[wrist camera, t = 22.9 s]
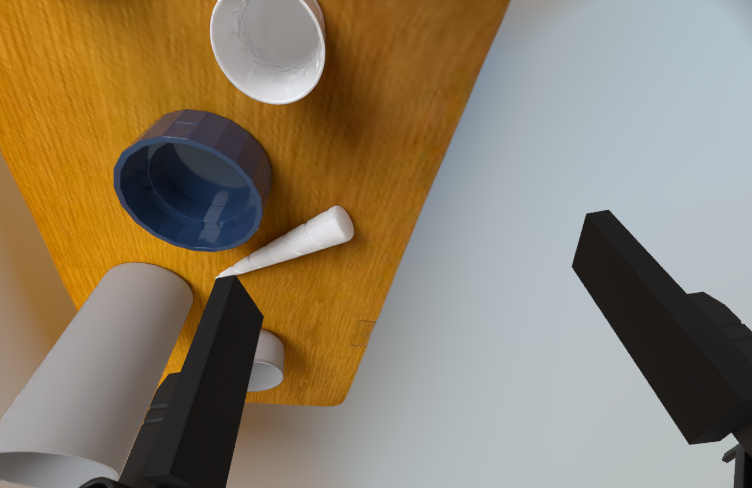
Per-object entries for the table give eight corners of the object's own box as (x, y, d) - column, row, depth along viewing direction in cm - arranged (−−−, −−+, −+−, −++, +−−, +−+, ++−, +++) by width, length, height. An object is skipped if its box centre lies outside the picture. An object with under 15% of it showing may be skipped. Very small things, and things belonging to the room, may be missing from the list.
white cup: (339, -14, 31) (336, 4, 23) (321, 78, 36) (313, 116, 28) (245, -49, 29) (210, -42, 21) (240, 53, 34) (209, 87, 26)
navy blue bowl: (242, 95, 36) (224, 123, 31) (289, 204, 46) (281, 240, 41) (116, 122, 38) (78, 153, 32) (187, 224, 47) (167, 260, 42)
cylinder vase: (103, 250, 49) (-47, 445, 31) (198, 272, 53) (116, 456, 34) (108, 303, 57) (-11, 486, 38) (191, 319, 60) (120, 491, 42)
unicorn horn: (197, 261, 51) (186, 285, 48) (338, 196, 45) (337, 219, 42) (220, 280, 54) (211, 304, 51) (355, 222, 48) (356, 245, 45)
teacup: (252, 313, 60) (241, 355, 54) (300, 338, 66) (295, 378, 60) (207, 345, 66) (193, 386, 60) (255, 365, 72) (247, 405, 66)
